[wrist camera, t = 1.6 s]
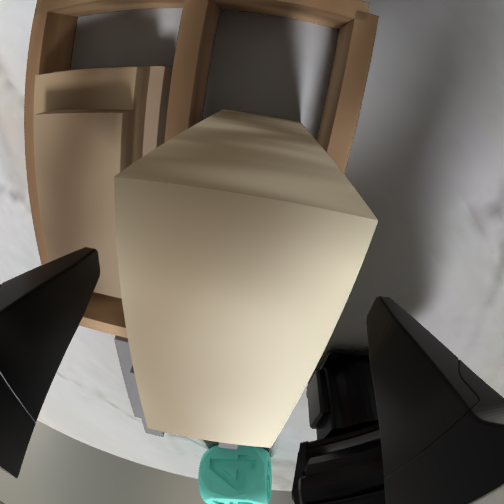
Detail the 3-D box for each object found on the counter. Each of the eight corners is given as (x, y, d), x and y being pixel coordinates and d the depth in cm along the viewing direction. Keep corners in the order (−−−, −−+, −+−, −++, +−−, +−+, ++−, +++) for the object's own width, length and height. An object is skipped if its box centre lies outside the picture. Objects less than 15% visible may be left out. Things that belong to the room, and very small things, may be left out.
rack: (360, 19, 11) (380, 7, 9) (280, 334, 22) (281, 365, 20) (67, 5, 11) (37, -1, 8) (73, 293, 21) (56, 318, 19)
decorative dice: (203, 440, 33) (194, 495, 26) (266, 441, 32) (264, 499, 25) (217, 461, 37) (212, 507, 30) (272, 461, 36) (270, 510, 29)
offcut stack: (177, 67, 13) (141, 63, 9) (163, 264, 19) (138, 313, 15) (72, 70, 13) (18, 75, 9) (77, 247, 19) (41, 288, 15)
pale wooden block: (300, 122, 15) (378, 220, 4) (271, 254, 19) (270, 447, 8) (223, 109, 14) (113, 176, 4) (206, 243, 19) (147, 427, 8)
